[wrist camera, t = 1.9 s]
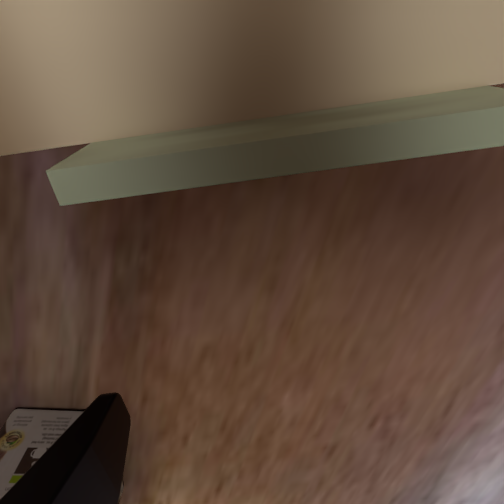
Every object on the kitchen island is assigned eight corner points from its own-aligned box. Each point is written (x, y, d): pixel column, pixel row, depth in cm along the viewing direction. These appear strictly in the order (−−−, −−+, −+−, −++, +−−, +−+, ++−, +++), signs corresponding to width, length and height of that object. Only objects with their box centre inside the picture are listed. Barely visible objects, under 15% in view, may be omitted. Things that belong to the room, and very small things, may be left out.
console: (466, -123, 12) (1143, -647, 3) (444, 72, 14) (758, 111, 6) (40, -49, 12) (-460, -288, 4) (97, 123, 15) (-110, 229, 6)
